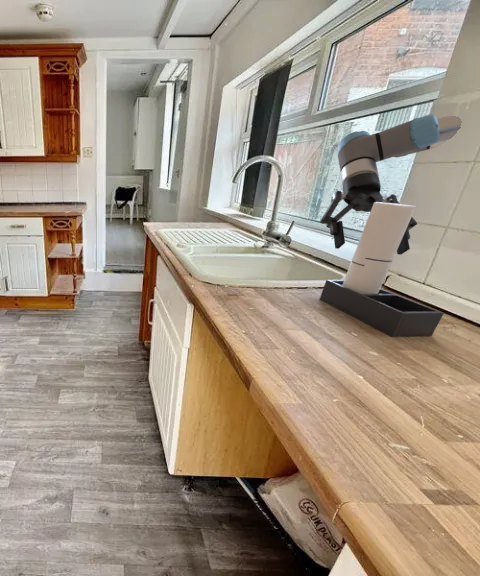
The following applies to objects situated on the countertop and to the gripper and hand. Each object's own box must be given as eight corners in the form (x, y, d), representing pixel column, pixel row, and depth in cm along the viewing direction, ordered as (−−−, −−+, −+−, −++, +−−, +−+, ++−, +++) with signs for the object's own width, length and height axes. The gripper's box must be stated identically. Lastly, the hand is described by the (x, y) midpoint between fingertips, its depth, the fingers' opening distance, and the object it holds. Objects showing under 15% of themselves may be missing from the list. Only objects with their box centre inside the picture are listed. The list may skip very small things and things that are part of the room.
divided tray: (352, 299, 84) (359, 280, 82) (431, 336, 66) (444, 312, 64) (319, 299, 83) (326, 279, 80) (391, 336, 65) (402, 313, 63)
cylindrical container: (368, 313, 74) (414, 207, 64) (333, 302, 79) (371, 202, 69) (373, 305, 78) (417, 205, 69) (340, 296, 83) (376, 201, 74)
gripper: (402, 194, 84) (418, 261, 76) (302, 187, 88) (307, 251, 80) (426, 174, 77) (445, 246, 69) (316, 168, 82) (323, 235, 74)
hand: (371, 248), depth 75 cm, fingers open, 13 cm apart
